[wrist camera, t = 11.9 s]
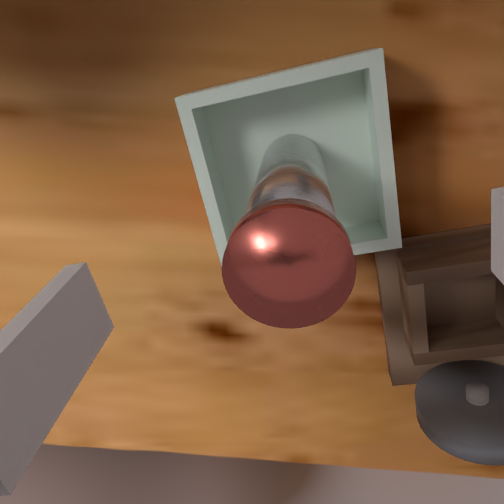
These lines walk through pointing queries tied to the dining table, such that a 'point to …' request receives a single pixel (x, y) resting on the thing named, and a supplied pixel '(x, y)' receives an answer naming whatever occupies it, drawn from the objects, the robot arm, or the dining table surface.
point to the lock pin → (289, 242)
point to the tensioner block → (448, 337)
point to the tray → (309, 125)
